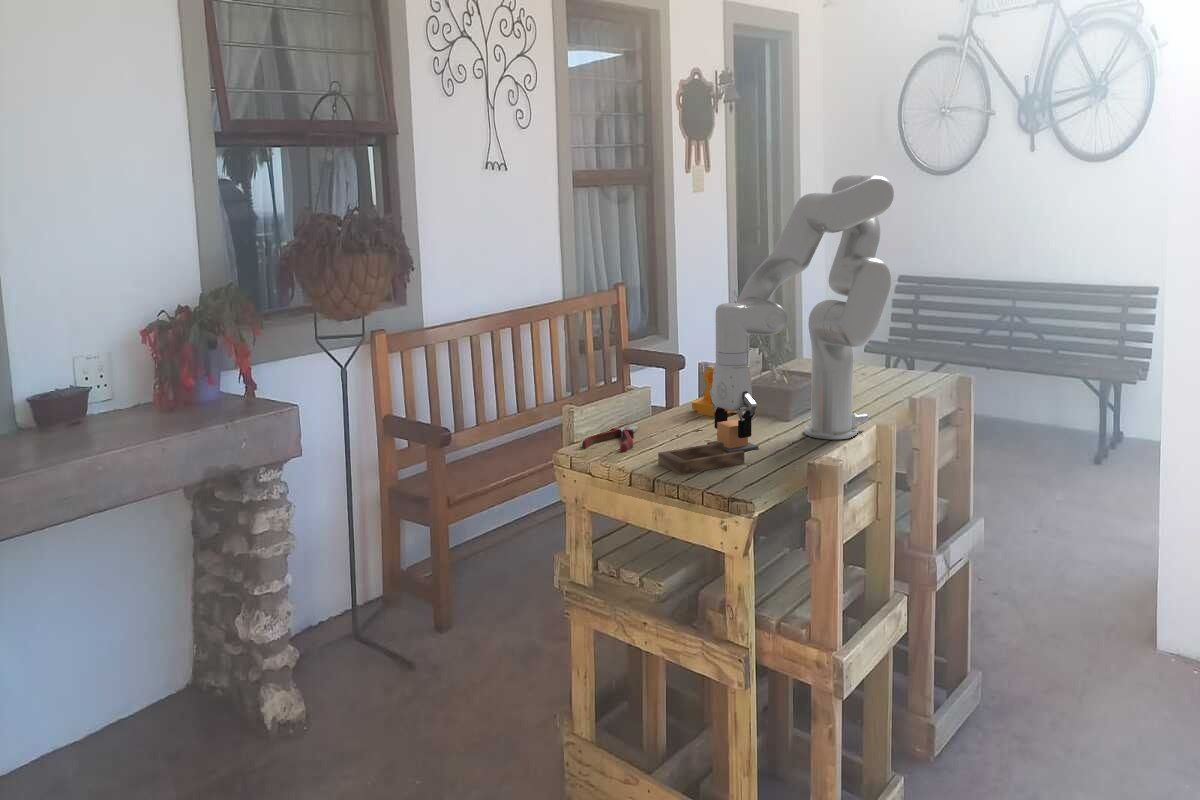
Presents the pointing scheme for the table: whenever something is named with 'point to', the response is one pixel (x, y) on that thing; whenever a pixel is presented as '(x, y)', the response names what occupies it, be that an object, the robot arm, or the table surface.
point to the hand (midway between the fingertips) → (732, 432)
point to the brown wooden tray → (699, 458)
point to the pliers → (613, 437)
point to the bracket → (706, 397)
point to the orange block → (730, 434)
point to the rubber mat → (742, 448)
